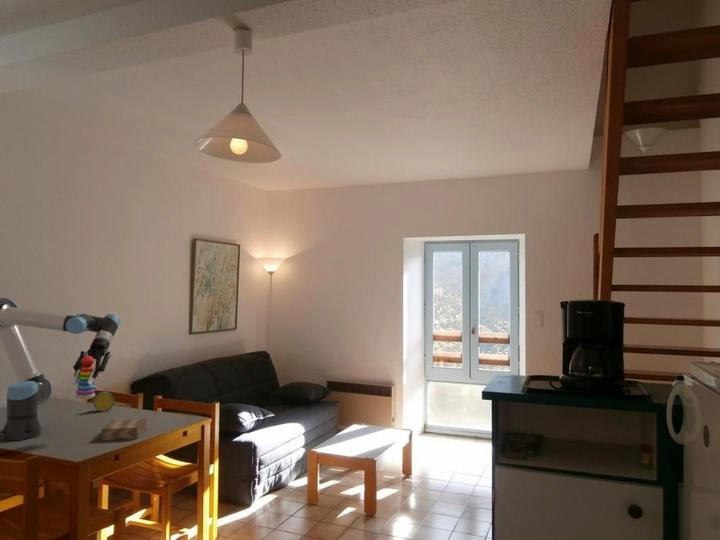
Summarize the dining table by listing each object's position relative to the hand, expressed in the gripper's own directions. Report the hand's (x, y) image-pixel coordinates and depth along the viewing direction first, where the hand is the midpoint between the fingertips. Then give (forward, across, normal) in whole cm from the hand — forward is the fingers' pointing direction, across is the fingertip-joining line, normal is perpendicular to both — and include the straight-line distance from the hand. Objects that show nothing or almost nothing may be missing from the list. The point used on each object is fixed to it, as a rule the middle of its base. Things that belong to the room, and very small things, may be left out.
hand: (81, 383), depth 231 cm
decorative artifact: (-18, +16, -53) cm, 59 cm away
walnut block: (+12, -17, -22) cm, 30 cm away
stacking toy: (+2, 0, -8) cm, 8 cm away
